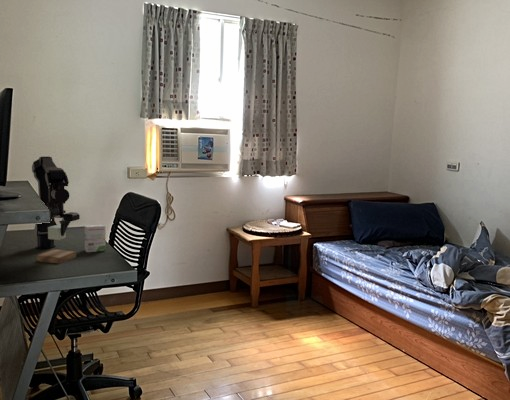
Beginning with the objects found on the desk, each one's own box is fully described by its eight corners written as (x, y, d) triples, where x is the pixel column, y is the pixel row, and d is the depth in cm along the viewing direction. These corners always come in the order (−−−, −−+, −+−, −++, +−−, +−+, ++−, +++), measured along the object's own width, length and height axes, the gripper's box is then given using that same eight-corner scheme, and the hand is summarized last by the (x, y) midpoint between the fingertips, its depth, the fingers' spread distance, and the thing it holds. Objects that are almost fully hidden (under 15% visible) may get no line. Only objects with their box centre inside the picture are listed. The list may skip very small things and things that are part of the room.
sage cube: (48, 238, 207) (47, 227, 206) (55, 236, 211) (55, 225, 211) (58, 239, 205) (58, 228, 205) (65, 237, 210) (65, 226, 210)
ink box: (103, 248, 230) (103, 224, 228) (105, 251, 225) (105, 226, 224) (84, 250, 225) (84, 225, 224) (86, 252, 221) (86, 227, 220)
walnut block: (37, 262, 205) (37, 255, 205) (54, 255, 216) (54, 249, 215) (60, 264, 203) (60, 257, 202) (76, 258, 213) (76, 251, 213)
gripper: (23, 200, 200) (25, 237, 203) (64, 203, 196) (64, 241, 198) (41, 196, 211) (42, 232, 213) (80, 199, 207) (80, 235, 209)
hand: (56, 235), depth 208 cm, fingers closed on sage cube, 5 cm apart
